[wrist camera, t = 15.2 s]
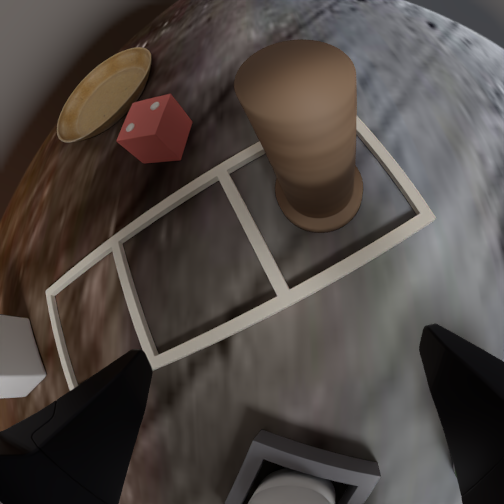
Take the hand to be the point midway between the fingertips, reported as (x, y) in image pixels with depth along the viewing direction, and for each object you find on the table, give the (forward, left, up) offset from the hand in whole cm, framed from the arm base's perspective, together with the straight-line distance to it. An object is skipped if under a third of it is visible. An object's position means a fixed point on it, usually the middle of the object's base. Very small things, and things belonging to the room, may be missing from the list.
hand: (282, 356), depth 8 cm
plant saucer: (+29, -17, -9) cm, 35 cm away
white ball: (-3, +11, -9) cm, 14 cm away
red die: (+16, -11, -9) cm, 21 cm away
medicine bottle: (+27, +15, -9) cm, 32 cm away
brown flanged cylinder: (+2, -9, -9) cm, 13 cm away
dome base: (-3, +11, -9) cm, 14 cm away
